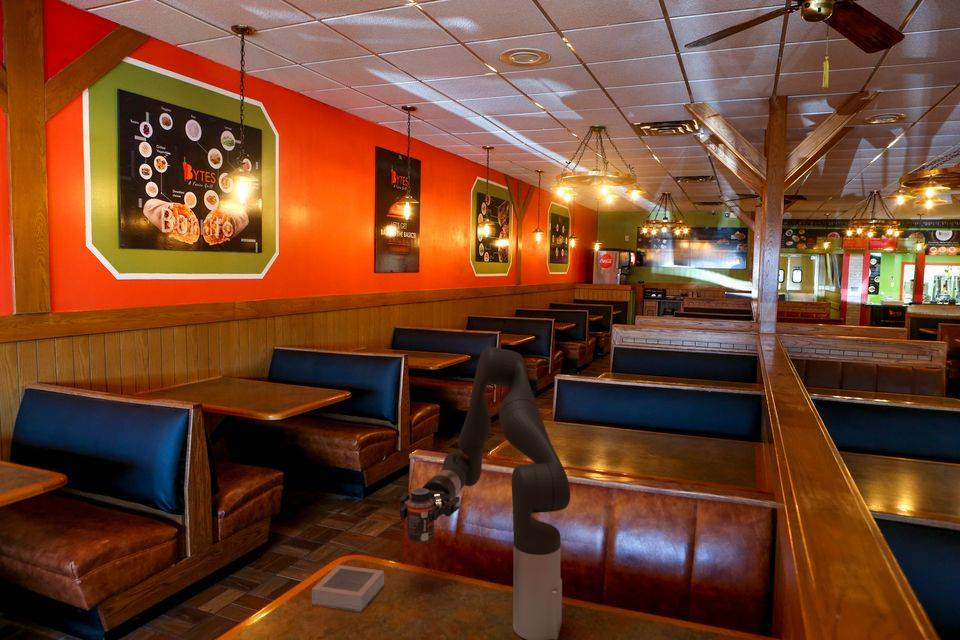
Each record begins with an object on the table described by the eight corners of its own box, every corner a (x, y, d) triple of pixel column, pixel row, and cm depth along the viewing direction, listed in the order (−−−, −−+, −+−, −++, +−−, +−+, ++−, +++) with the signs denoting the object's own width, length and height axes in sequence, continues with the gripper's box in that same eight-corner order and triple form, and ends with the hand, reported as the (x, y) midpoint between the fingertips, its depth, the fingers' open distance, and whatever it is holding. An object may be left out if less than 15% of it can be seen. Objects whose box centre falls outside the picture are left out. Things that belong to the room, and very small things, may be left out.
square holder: (384, 585, 143) (384, 570, 143) (361, 612, 132) (361, 596, 132) (338, 579, 146) (337, 564, 146) (312, 604, 135) (311, 589, 135)
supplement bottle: (432, 546, 138) (432, 495, 137) (405, 546, 138) (404, 495, 137) (435, 534, 144) (434, 486, 143) (409, 534, 144) (408, 486, 143)
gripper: (413, 472, 156) (385, 496, 140) (469, 477, 152) (447, 502, 136) (414, 501, 157) (386, 529, 140) (470, 507, 153) (447, 536, 137)
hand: (416, 516), depth 138 cm, fingers closed on supplement bottle, 6 cm apart
